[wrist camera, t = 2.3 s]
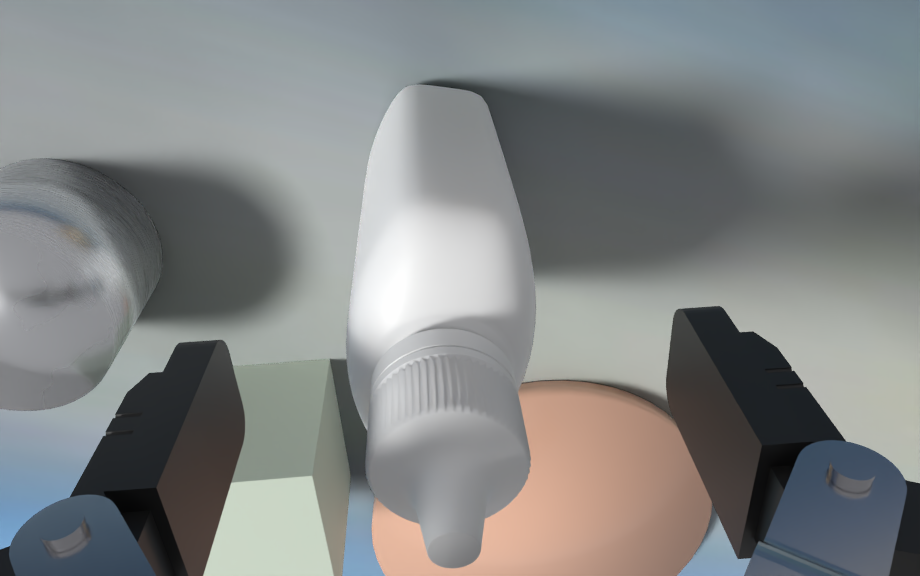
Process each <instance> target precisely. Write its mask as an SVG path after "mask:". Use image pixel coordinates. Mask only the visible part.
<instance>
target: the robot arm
mask: <svg viewBox="0 0 920 576" xmlns="http://www.w3.org/2000/svg"><path fill="white" fill-rule="evenodd" d="M666 390H667V398H668V404H669V407H670V411H671V413H672V416H673V418H674V420H675V422H676V424H677V427H678V429H679V431H680V433H681V435H682V438H683V440H684V442H685V444H686V446H687V448H688V451H689V453H690V455H691V457H692V459H693V462H694V464H695V466H696V468H697V470H698V473H699V475H700V477H701V479H702V481H703V484H704V486H705V488H706V490H707V492H708V494H709V497H710V499H711V501H712V503H713V505H714V508H715V510H716V512H717V514H718V516H719V519H720V521H721V523H722V525H723V527H724V530H725V532H726V534H727V536H728V538H729V540H730V543H731V545H732V547H733V549H734V551H735V554H736V556H737V558H738V559H744V558H751V560H750V562H749V565H748V567H747V570H746V572H745V575H744V576H920V483H915V482H910V481H907V480H905V479H904V477H903V475H902V474H901V472H900V471H899V470H898V469H897V468H896V466H895V465H894V464H893V463H891V462H890V461H889V460H888V459H886V458H885V457H883V456H882V455H880V454H879V453H877V452H875V451H873V450H871V449H869V448H866V447H864V446H861V445H858V444H854V443H851V442H846V441H845V439H844V438H843V437H842V435H841V434H840V432H839V431H838V430H837V428H836V427H835V426H834V424H833V423H832V422H831V420H830V419H829V417H828V416H827V415H826V413H825V412H824V411H823V409H822V408H821V407H820V405H819V404H818V403H817V401H816V400H815V398H814V397H813V396H812V394H811V393H810V392H809V390H808V389H807V388H806V387H804V386H803V382H802V381H801V379H800V378H799V377H798V375H797V374H796V373H795V371H792V369H791V366H790V364H789V363H788V362H787V360H786V359H785V358H784V356H783V355H782V354H781V352H780V351H779V349H778V348H777V347H775V346H774V345H772V344H771V343H769V342H768V341H766V340H765V339H763V338H762V337H760V336H759V335H757V334H756V333H754V332H739V331H738V329H737V328H736V326H735V325H734V323H733V322H732V320H731V319H730V317H729V316H728V315H727V313H726V312H725V310H724V309H723V308H722V307H720V306H714V307H699V308H685V309H678V310H676V312H675V314H674V318H673V325H672V333H671V342H670V351H669V360H668V368H667V377H666ZM115 415H116V418H113V419H112V421H111V423H110V425H109V427H108V429H107V430H106V436H103V438H102V439H101V441H100V443H99V445H98V447H97V449H96V450H95V452H94V454H93V456H92V458H91V460H90V461H89V463H88V465H87V467H86V469H85V470H84V472H83V474H82V476H81V478H80V480H79V481H78V483H77V485H76V487H75V489H74V491H73V492H72V494H71V496H70V498H67V499H63V500H61V501H58V502H56V503H54V504H51V505H50V506H48V507H46V508H44V509H42V510H41V511H39V512H38V513H37V514H35V515H34V516H33V517H31V518H30V519H29V520H28V521H27V522H26V523H25V524H24V525H23V526H22V527H21V528H20V529H19V531H18V532H17V533H16V535H15V537H14V538H13V540H12V542H11V545H10V546H9V547H6V548H4V549H1V550H0V576H203V575H204V572H205V568H206V565H207V562H208V558H209V555H210V552H211V548H212V545H213V542H214V538H215V535H216V532H217V528H218V525H219V522H220V518H221V515H222V512H223V509H224V505H225V502H226V499H227V495H228V492H229V489H230V485H231V482H232V479H233V475H234V472H235V469H236V465H237V462H238V459H239V455H240V452H241V449H242V446H243V442H244V436H245V413H244V408H243V403H242V400H241V396H240V392H239V388H238V384H237V380H236V377H235V373H234V369H233V365H232V361H231V357H230V354H229V350H228V347H227V345H226V343H225V342H224V341H223V340H213V341H199V342H184V343H179V344H178V345H177V346H176V347H175V349H174V351H173V353H172V355H171V357H170V359H169V361H168V363H167V365H166V367H165V369H164V371H163V372H157V373H149V374H148V375H147V376H145V377H144V378H143V379H142V380H141V381H140V382H139V383H138V384H136V385H135V386H134V387H133V388H132V389H131V390H130V391H128V392H127V394H126V396H125V397H124V399H123V401H122V403H121V405H120V407H119V408H118V410H117V412H116V414H115Z"/></svg>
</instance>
